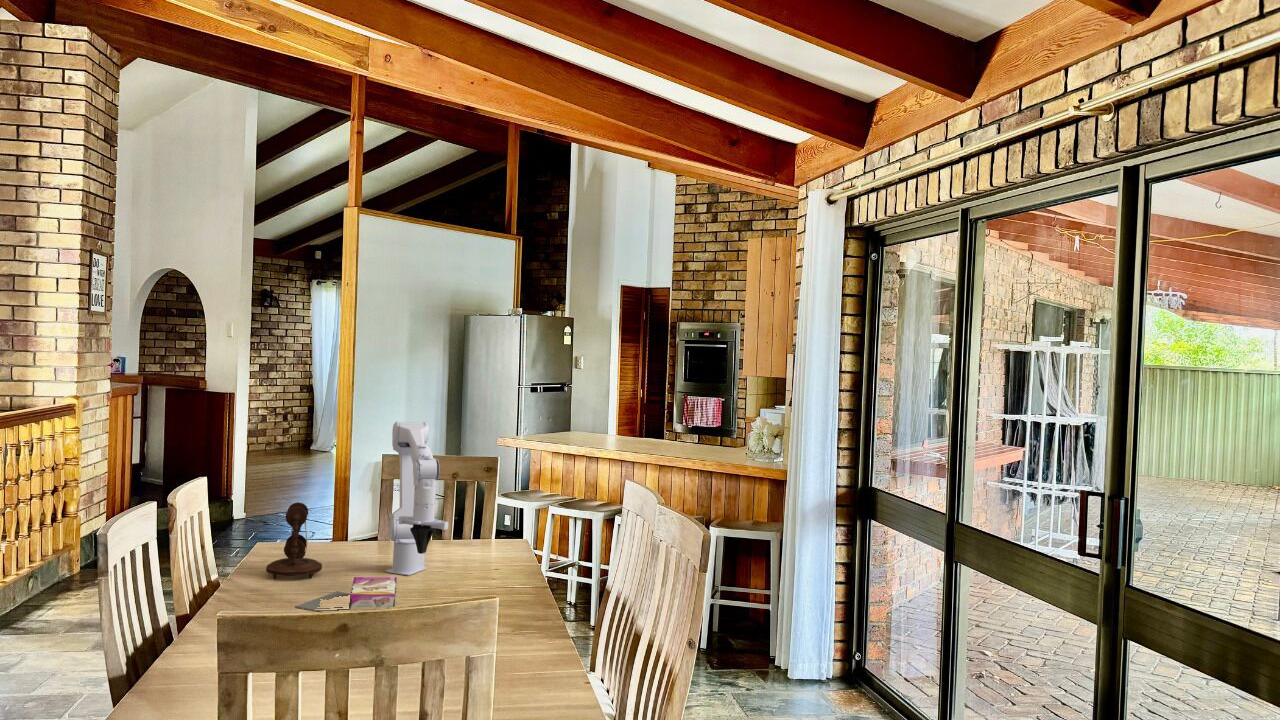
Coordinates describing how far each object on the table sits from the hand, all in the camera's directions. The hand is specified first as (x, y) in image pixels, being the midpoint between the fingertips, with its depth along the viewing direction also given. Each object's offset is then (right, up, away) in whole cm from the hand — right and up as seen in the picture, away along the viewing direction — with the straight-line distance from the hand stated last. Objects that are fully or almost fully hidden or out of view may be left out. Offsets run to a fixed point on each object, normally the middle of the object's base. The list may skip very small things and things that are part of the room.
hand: (421, 552), depth 242 cm
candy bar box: (-11, -7, -7) cm, 15 cm away
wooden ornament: (-39, -8, +9) cm, 41 cm away
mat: (-16, -10, -16) cm, 25 cm away
